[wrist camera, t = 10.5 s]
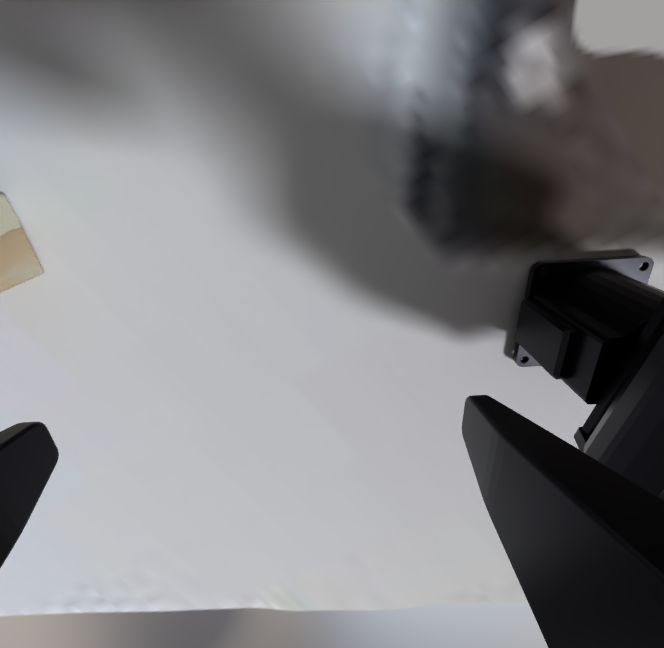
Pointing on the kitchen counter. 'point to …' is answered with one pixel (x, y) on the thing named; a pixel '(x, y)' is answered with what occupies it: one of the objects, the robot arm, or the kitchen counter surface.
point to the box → (15, 250)
